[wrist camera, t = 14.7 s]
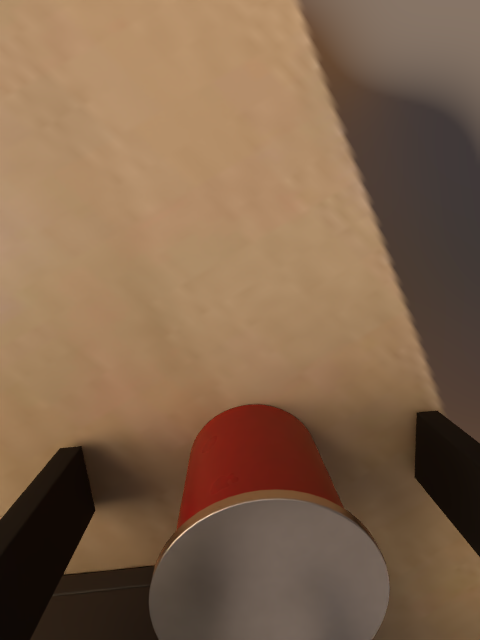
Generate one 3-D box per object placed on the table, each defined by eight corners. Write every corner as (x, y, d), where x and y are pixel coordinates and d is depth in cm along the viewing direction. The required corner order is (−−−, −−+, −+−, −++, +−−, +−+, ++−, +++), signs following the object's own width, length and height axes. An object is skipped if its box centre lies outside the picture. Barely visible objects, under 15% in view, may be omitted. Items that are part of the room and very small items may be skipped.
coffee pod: (327, 516, 13) (389, 679, 8) (189, 530, 13) (165, 704, 8) (323, 387, 12) (392, 486, 7) (171, 402, 12) (129, 513, 7)
